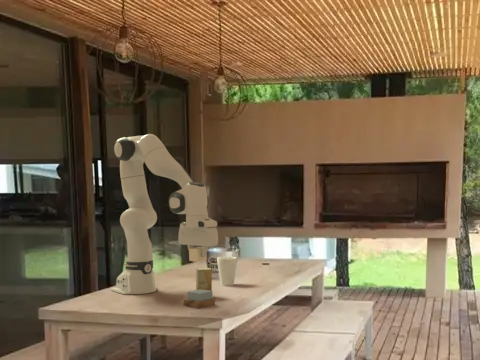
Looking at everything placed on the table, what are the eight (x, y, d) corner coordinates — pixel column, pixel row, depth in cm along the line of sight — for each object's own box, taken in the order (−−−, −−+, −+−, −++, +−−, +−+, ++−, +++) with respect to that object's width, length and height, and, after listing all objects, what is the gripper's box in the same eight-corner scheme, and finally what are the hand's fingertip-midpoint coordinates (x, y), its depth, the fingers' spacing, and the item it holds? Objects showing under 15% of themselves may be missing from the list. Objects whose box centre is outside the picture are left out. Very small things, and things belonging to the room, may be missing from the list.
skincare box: (197, 298, 240) (197, 269, 240) (195, 296, 244) (195, 268, 244) (212, 297, 242) (212, 268, 242) (210, 295, 246) (209, 267, 246)
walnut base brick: (183, 306, 226) (183, 299, 226) (199, 303, 232) (199, 295, 232) (198, 309, 219) (198, 302, 219) (214, 306, 226) (214, 298, 226)
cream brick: (189, 261, 226) (188, 248, 226) (198, 259, 229) (198, 247, 229) (197, 261, 222) (197, 249, 222) (206, 260, 226) (206, 247, 226)
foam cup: (215, 283, 276) (215, 257, 276) (233, 282, 278) (233, 256, 278) (220, 286, 266) (220, 259, 267) (239, 285, 269) (238, 258, 269)
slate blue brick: (187, 299, 226) (187, 291, 226) (200, 296, 231) (200, 289, 231) (200, 301, 221) (199, 293, 221) (212, 298, 226) (212, 290, 226)
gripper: (174, 222, 231) (175, 256, 231) (208, 223, 217) (209, 259, 217) (185, 221, 236) (186, 254, 235) (220, 222, 222) (221, 257, 221)
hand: (198, 256), depth 226 cm, fingers closed on cream brick, 5 cm apart
